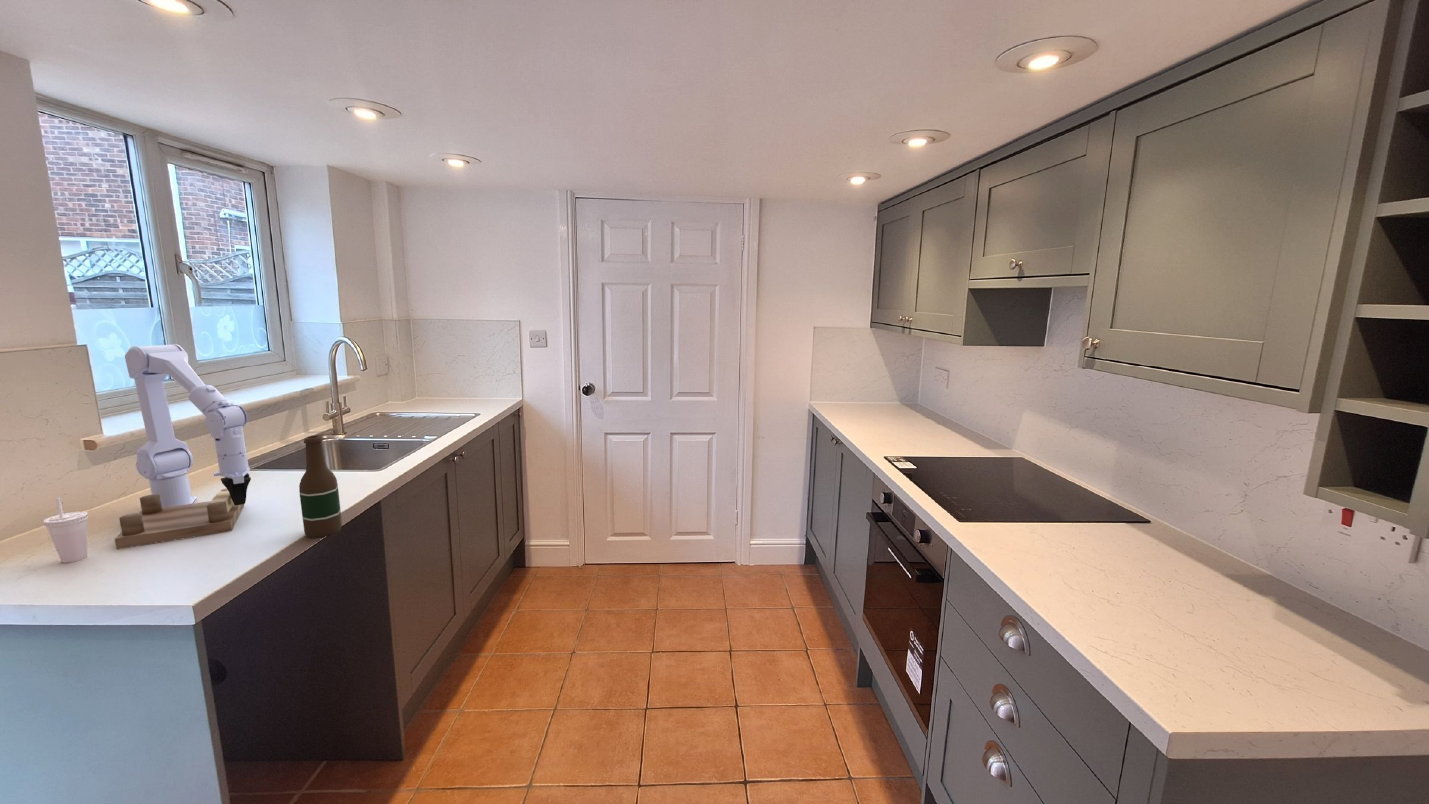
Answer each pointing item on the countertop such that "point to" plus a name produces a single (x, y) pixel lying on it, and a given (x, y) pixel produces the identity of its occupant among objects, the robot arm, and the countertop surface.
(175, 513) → the stool seat
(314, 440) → the beer bottle
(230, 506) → the oak leg
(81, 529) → the smoothie
